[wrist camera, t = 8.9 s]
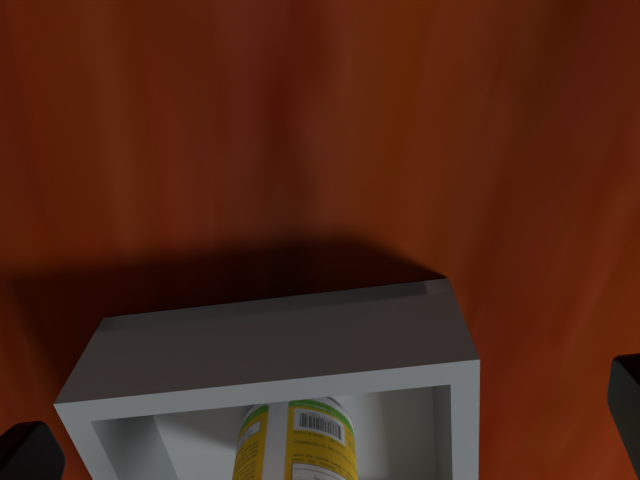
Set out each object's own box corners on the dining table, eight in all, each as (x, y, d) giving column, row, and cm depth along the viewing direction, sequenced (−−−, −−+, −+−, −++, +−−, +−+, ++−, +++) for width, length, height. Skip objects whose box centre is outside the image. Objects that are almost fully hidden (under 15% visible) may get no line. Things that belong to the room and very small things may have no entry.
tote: (448, 278, 22) (480, 359, 18) (452, 490, 29) (476, 587, 25) (103, 317, 23) (53, 404, 19) (185, 514, 30) (162, 612, 25)
